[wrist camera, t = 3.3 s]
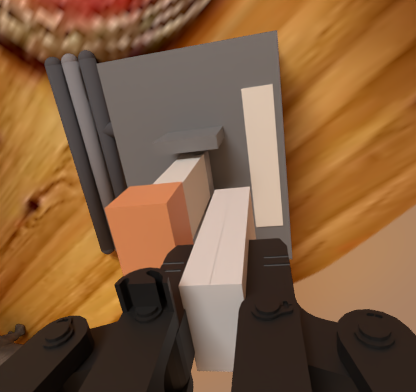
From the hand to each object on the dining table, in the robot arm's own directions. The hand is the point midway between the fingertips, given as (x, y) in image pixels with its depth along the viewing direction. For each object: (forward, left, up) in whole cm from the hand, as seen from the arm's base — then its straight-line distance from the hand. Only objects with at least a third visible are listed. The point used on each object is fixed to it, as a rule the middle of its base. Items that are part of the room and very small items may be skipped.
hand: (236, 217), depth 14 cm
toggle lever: (-3, 0, -8) cm, 8 cm away
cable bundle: (-13, 0, -15) cm, 20 cm away
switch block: (-3, 0, -15) cm, 16 cm away
